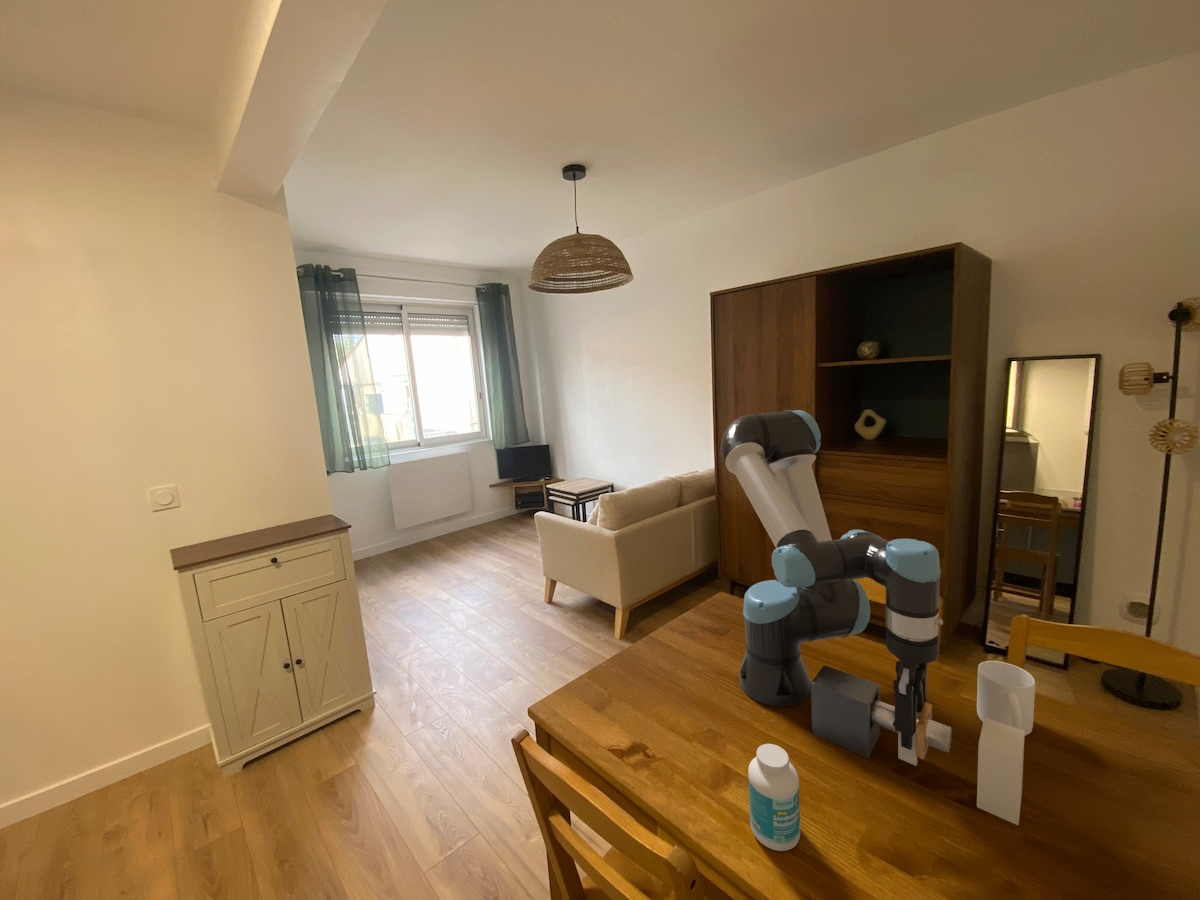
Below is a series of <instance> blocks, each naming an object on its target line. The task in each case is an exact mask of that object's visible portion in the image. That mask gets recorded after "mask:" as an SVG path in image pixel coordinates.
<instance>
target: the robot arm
mask: <svg viewBox="0 0 1200 900" xmlns="http://www.w3.org/2000/svg"><path fill="white" fill-rule="evenodd" d="M821 435H822V434H821V430H820V428H819V425H818V423H817V421H816V420H815V418H814V417H813V416H812V415H811V414H809V413H808V412H806V411H805V410H801V409H799V410H798V409H796V410H791V409H790V410H789V409H784V410H783V411H782V410H781V411H774V412H764V413H755V414H753V413H751V414H746V415H743V416H740V417H738V418H736V419H735V420H733V421H732V422H731V423H730V424H729V425H728V427H726V429H725V430H724V433H723V434H722V436H721V437H722V438H721V442H720V447H719V448H720V455H721V459H722V462H723V464H724V465H725V468H726V469H727V470H728V472H729V473H731V474H734V475H735V477H736V479H737V480H738V482H739V484H740V486H741V488H742V489H743V492H744V493H745V495H746V497H747V498H748V500H749V501H750V504H751V506H752V508H753V509H754V511H755V513H756V514H757V516H758V518H759V520H760V522H761V523H762V526H763V527H764V529H765V531H766V533H767V534H768V536H769V538H770V540H771V542H772V543H773V545H774V547H775V549H773V552H772V554H771V566H772V568H773V571H774V572H773V573H774V576H775V578H776V579H769V580H763V581H760V582H758V583H755V584H753V585H752V586H749V588H748V589H747V590H746V591H745V593H744V597H743V609H742V614H743V617H744V618H743V619H744V620H743V621H744V633H745V634H744V637H745V639H744V640H745V653H744V656H743V658H742V662H741V665H740V668H739V686H740V687H741V689H742V691H743V692H744V693H745V694H746V695H747V696H748V697H749V698H751V699H752V700H754V701H756V702H758V703H760V704H763V705H766V706H770V707H775V708H788V707H794V706H797V705H800V704H802V703H804V702H806V700H807V699H808V698H809V696H810V694H811V681H810V679H811V678H810V676H809V674H808V671H807V668H806V667H805V664H804V661H803V658H802V656H801V655H802V654H801V644H803V643H806V642H807V643H809V642H815V641H817V642H818V641H822V640H828V639H829V640H830V639H834V638H835V639H836V638H848V637H849V636H852V635H857V634H861V633H862V632H863V631H865V629H866V628H867V626H868V624H869V622H870V621H869V620H870V618H871V616H870V615H871V606H870V600H869V597H868V594H867V592H866V590H865V589H864V588H863V586H862V585H861V583H860V582H859V581H857V580H859V579H871V580H873V581H874V582H876V583H878V584H879V585H881V586H883V587H885V626H886V629H885V646H886V649H887V650H888V651H889V653H890V654H892V655H893V656H894V657H896V658H897V659H898V660H897V661H896V662H895V672H896V679H894V680H893V683H892V684H893V691H894V707H895V721H894V722H893V726H895V730H896V731H898V733H897V734H898V736H897V738H898V739H897V742H898V744H897V745H898V747H897V748H898V749H897V751H898V757H897V758H898V759H899V760H901V761H904V762H906V763H908V764H911V765H913V766H915V767H916V766H918V757H917V729H916V715H919V716H920V715H921V712H922V710H923V707H924V704H925V702H926V703H927V700H928V699H927V673H928V672H927V671H928V670H927V669H928V664H930V663H933V662H935V661H936V660H938V657H939V644H940V643H939V636H938V635H939V626H942V625H943V624H944V621H943V619H942V618H938V617H939V613H940V586H941V585H940V580H941V575H942V574H941V573H942V570H941V567H940V565H941V563H940V553H939V550H938V549H937V548H936V546H935V545H933V544H931V543H929V542H926V541H923V540H917V539H915V538H914V539H913V538H896V539H893V540H890V541H888V540H887V539H884V538H883V537H881V536H880V535H877V534H875V533H872V532H870V531H866V530H863V529H851V530H849V531H848V532H845V534H842V536H840V539H832V534H831V532H830V528H829V524H828V520H827V516H826V513H825V511H824V506H823V503H822V500H821V496H820V492H819V488H818V485H817V481H816V477H815V474H814V470H813V464H814V462H815V460H816V459H817V455H816V453H817V452H818V451H819V450H820V447H821V444H822V443H821V437H822V436H821Z"/></svg>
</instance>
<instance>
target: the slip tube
mask: <svg viewBox="0 0 1200 900" xmlns="http://www.w3.org/2000/svg"><path fill="white" fill-rule="evenodd" d="M894 721H895V705H891V704H888V703H886V702H883V701H881V700H879V701H878V700H875V699H874V700H873V701H872V703H871V705H870V722H872V723H875V724H877V725H879V727H883V728H885V729H887V730H890V731H892V732H895V733H897V734H898V731H896V730H895V726H893V722H894ZM916 729H917V758H919V759H921V760H925V758H926V754H927V752H928V748H929V746H930V747H933V748H936V749H937V750H940V751H943V752H946V753H949V752H950V748H951V743H952V733H953V732H952V727H951V726H949V725H946V724H943V723H940V722H938V721H935V720H933V704H930V703H929V702H927V701H926V702H925V703H924V707H923V710H922V712H921V715H920V716H919V715H916Z"/></svg>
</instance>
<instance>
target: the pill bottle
mask: <svg viewBox="0 0 1200 900" xmlns="http://www.w3.org/2000/svg"><path fill="white" fill-rule="evenodd" d="M747 770H748V771H747V772H748V793H749V797H748V799H749V800H748V801H749V821H750V827H751V831H752V833H753V835H754V837H755V838H756V839H757V840H758V841H759V842H760V843H761V844H762V845H763V846H765V847H766V848H769V849H771V850H773V851H776V852H777V851H778V852H787V851H789V850H791V849H793V848H795V847H796V846H797V844H798V843H799V840H800V838H801V811H800V807H801V806H800V779H799V773H798V772H797V770H796V768H795V767H794V765H793V764H792V763H791V762H790V757H789V755H788V753H787V751H786V750H785V749H784V748H782V747H781V746H779V745H777V744H773V743H765V744H762V745H760V746H758V748H757V749H756V756H755V757H754V758H753V759H752V760H751V761H750V762H749V766H748V769H747Z"/></svg>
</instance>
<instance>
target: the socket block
mask: <svg viewBox="0 0 1200 900" xmlns="http://www.w3.org/2000/svg"><path fill="white" fill-rule="evenodd" d="M1025 737H1026V735H1025V731H1023V730H1020V729H1017V728H1015V727H1012V726H1009V725H1006V724H1003V723H1000V722H997V721H994V720H991V719H988V718H985V717H984V721H983V722H982V726H981V730H980V736H979V739H978V752H977V757H978V758H977V759H978V760H977V785H976V788H977V791H976V792H977V794H976V808H978V809H980V810H982V811H985V812H987V813H989V814H991V815H994V816H995V817H998V818H1001V819H1002V820H1004V821H1007V822H1009V823H1011V824H1014V825H1016V826H1019V825H1020V814H1021V805H1022V804H1021V803H1022V795H1023V793H1022V792H1023V778H1024V777H1023V776H1024V752H1025Z"/></svg>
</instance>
